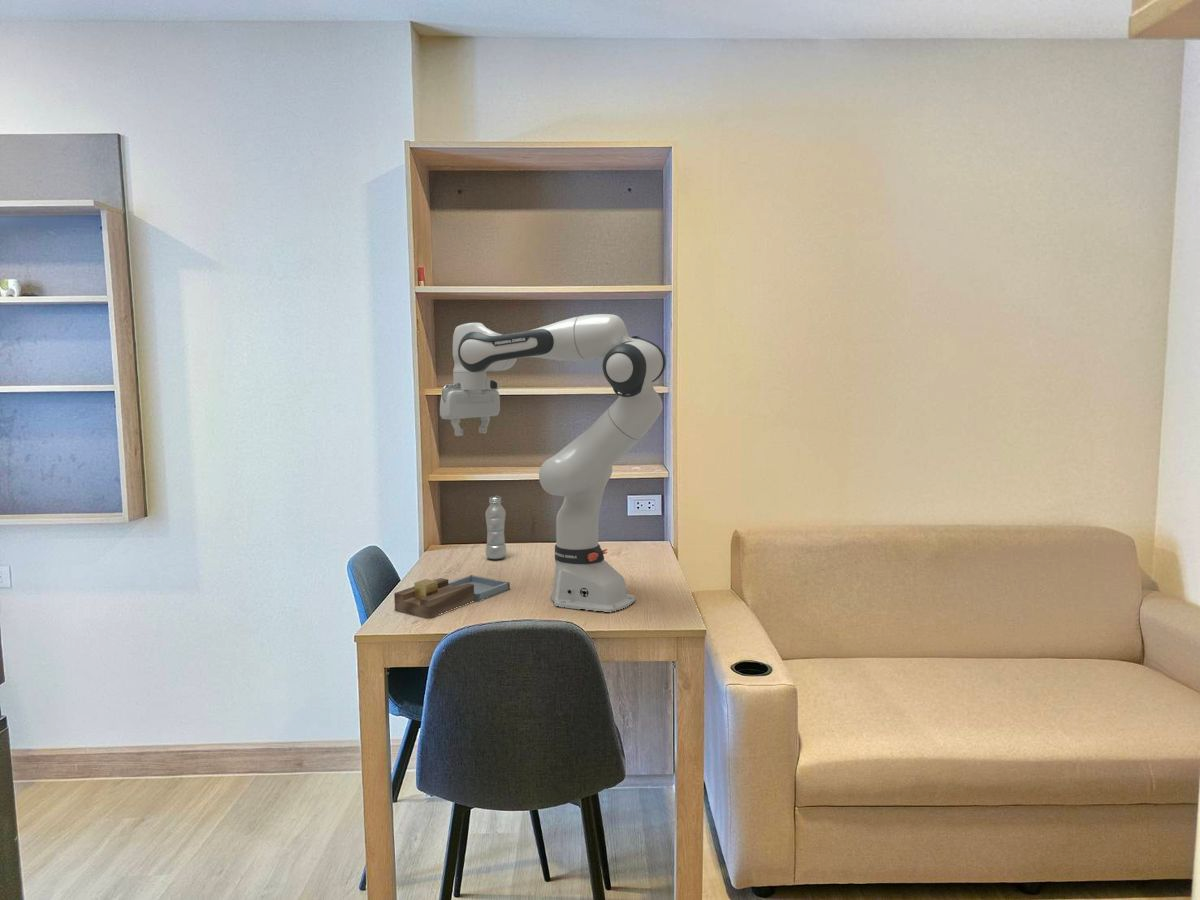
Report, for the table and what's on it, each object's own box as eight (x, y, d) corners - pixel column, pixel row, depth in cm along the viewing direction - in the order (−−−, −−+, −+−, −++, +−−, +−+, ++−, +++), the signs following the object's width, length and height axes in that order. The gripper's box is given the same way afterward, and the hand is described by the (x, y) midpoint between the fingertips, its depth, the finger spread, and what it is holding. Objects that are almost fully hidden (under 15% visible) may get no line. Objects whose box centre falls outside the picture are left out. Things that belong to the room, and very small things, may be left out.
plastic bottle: (481, 559, 236) (480, 497, 234) (495, 555, 241) (494, 494, 239) (496, 562, 232) (495, 499, 230) (510, 558, 238) (509, 496, 236)
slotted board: (474, 601, 193) (473, 584, 192) (429, 618, 179) (428, 600, 179) (440, 594, 199) (440, 577, 199) (394, 610, 186) (394, 593, 185)
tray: (509, 589, 204) (509, 582, 203) (477, 601, 193) (477, 594, 192) (471, 581, 211) (471, 574, 211) (438, 593, 200) (438, 586, 200)
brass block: (437, 596, 187) (437, 581, 187) (426, 600, 184) (425, 585, 183) (426, 594, 189) (426, 579, 189) (414, 598, 186) (414, 582, 186)
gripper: (451, 384, 190) (452, 437, 191) (503, 383, 207) (504, 432, 208) (433, 384, 193) (434, 436, 195) (486, 382, 210) (487, 431, 212)
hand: (471, 434), depth 202 cm, fingers open, 8 cm apart
